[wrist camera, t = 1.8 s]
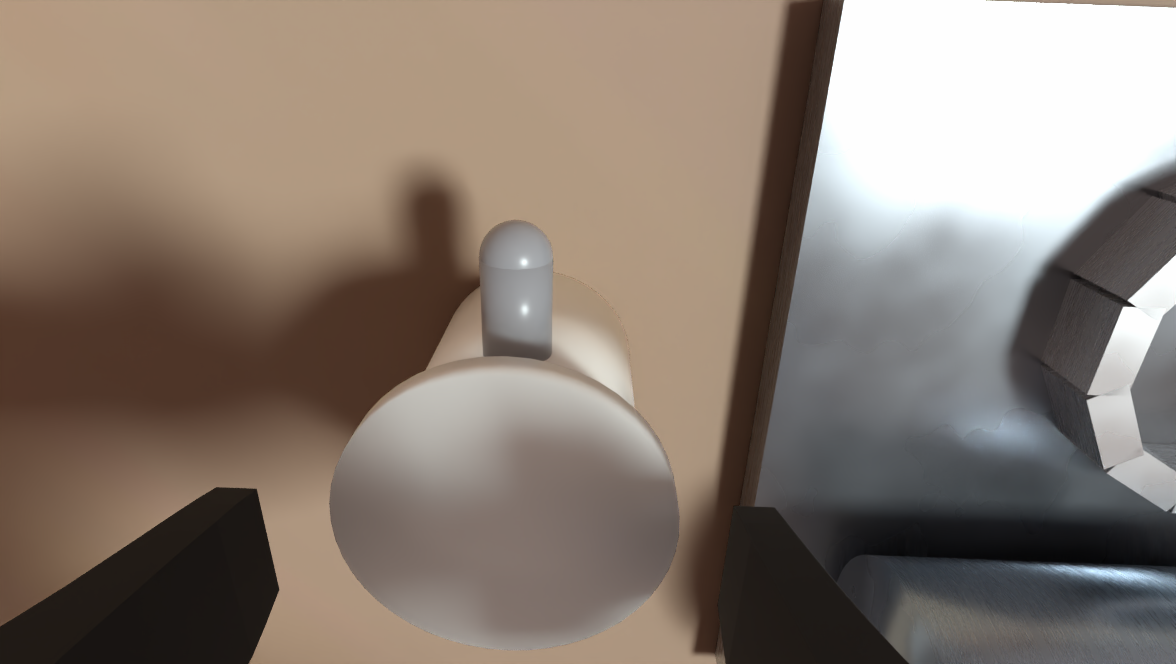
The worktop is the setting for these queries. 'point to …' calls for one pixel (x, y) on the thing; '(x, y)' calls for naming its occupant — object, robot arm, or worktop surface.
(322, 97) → the worktop surface
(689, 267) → the worktop surface
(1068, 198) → the motor mount
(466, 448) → the white mushroom knob
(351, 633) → the worktop surface
